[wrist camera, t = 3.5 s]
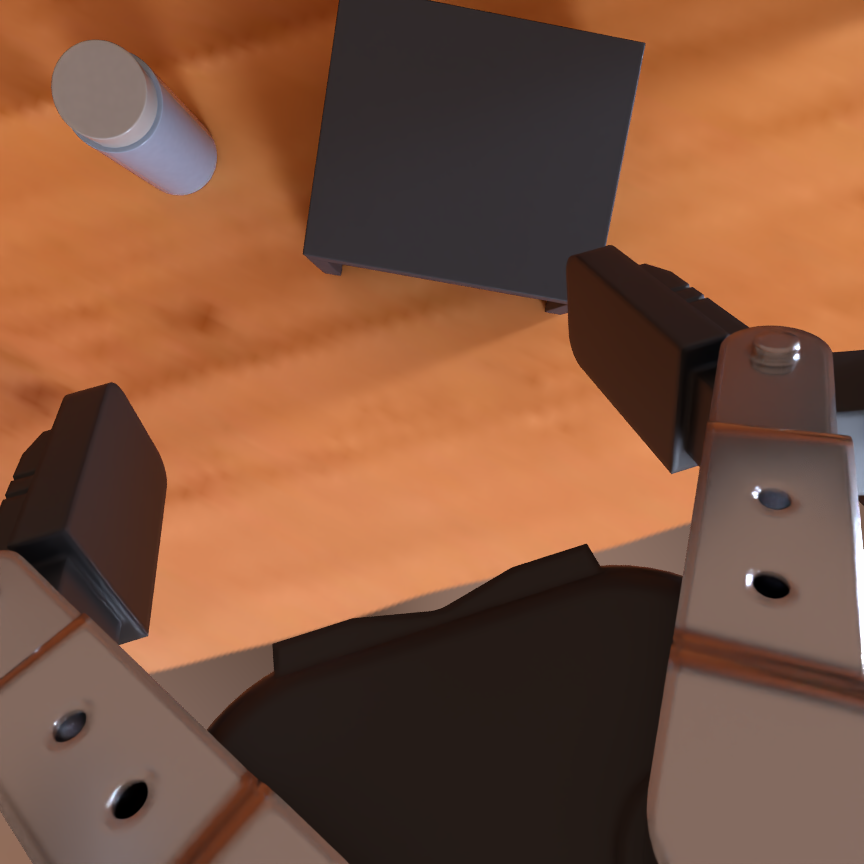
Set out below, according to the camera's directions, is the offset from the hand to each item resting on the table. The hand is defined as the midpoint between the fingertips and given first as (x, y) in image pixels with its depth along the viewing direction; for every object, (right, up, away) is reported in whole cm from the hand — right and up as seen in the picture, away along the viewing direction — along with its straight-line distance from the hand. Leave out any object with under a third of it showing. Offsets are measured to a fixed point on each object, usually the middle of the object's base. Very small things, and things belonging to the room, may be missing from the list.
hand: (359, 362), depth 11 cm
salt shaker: (-13, +14, +25) cm, 31 cm away
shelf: (+3, +13, +25) cm, 28 cm away
